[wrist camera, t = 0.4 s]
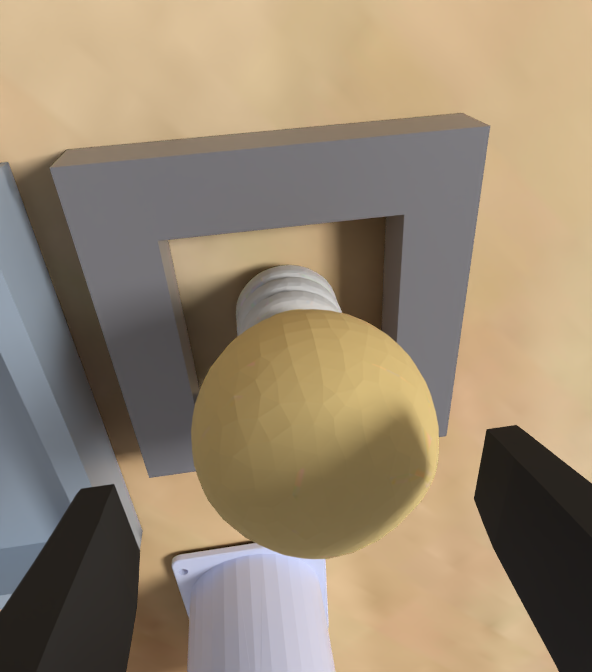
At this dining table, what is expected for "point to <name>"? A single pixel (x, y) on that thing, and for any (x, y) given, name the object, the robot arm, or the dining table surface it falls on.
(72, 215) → the socket block
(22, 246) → the parts tray
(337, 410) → the light bulb
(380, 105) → the dining table surface
